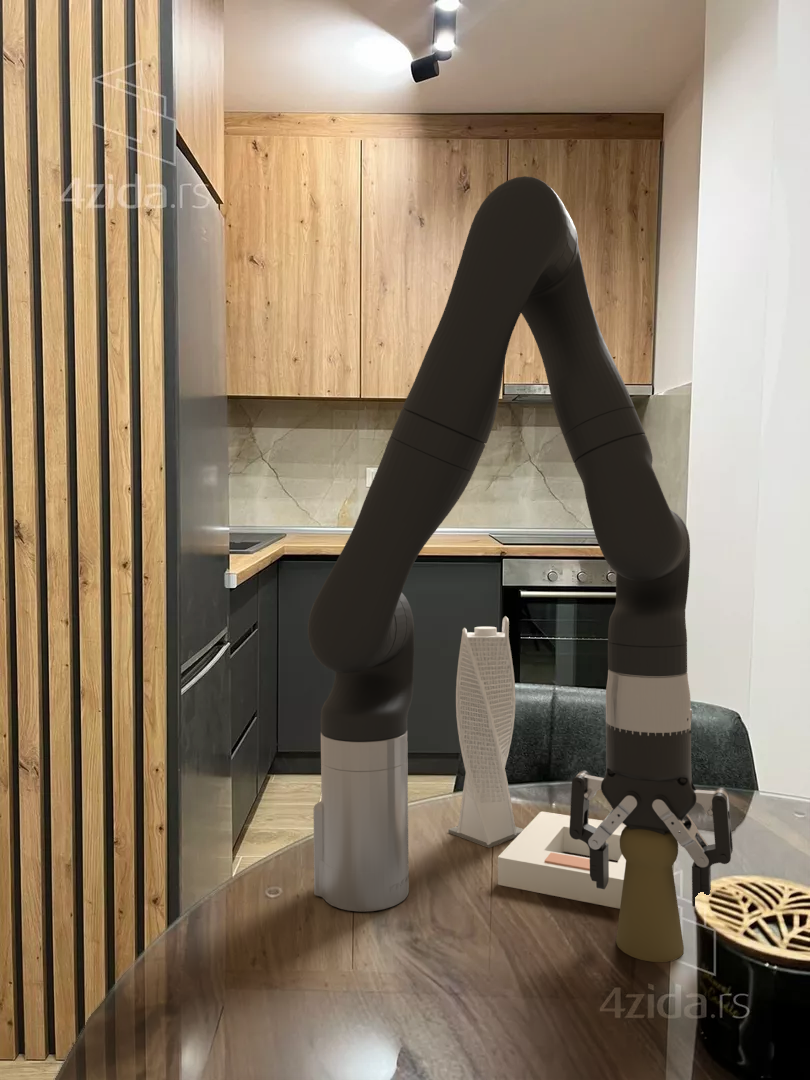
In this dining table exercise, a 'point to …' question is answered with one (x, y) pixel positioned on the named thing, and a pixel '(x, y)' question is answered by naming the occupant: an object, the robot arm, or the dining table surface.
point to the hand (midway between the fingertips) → (649, 894)
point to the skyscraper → (485, 734)
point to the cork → (649, 897)
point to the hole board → (560, 862)
